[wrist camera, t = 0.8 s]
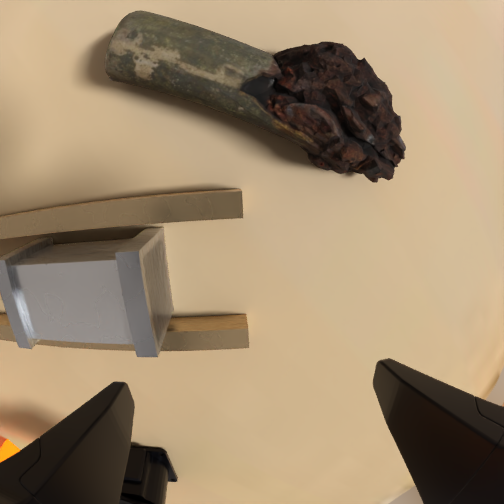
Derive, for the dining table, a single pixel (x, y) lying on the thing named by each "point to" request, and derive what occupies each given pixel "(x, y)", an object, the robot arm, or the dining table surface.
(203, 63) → the grey brown wooden log
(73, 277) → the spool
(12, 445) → the orange juice
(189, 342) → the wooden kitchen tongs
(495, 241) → the dining table surface
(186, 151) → the dining table surface
